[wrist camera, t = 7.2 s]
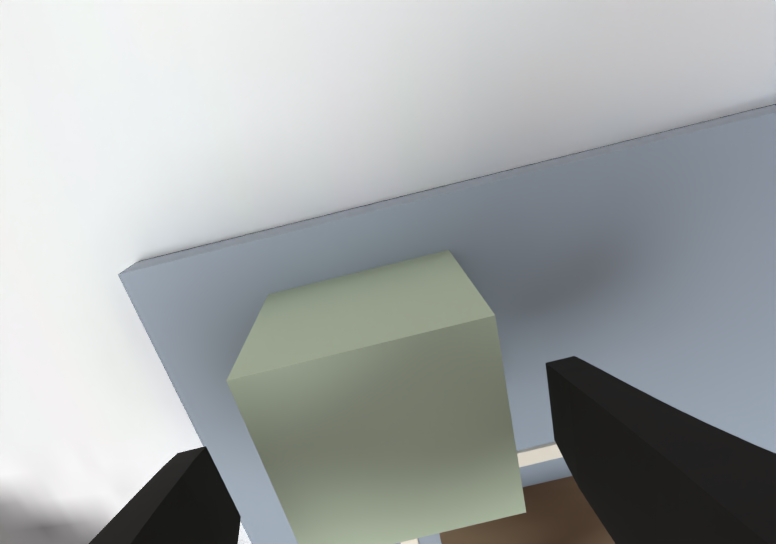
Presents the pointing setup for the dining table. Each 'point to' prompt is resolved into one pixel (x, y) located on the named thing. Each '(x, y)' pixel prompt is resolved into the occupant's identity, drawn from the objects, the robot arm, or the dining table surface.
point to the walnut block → (540, 520)
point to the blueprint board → (521, 288)
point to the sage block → (381, 405)
